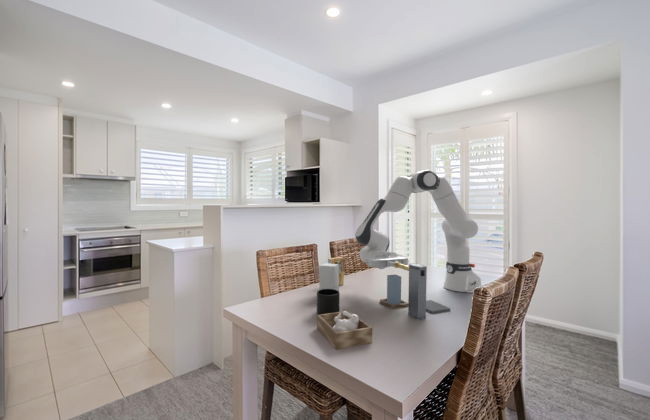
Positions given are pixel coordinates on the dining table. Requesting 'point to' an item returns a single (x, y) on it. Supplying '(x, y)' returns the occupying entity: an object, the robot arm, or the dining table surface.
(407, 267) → the bolt
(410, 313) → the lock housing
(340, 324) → the rabbit figurine
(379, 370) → the dining table surface
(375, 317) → the dining table surface
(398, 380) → the dining table surface
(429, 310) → the mat
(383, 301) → the socket frame
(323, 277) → the skincare box
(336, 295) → the mug
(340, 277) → the candy box
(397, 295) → the block
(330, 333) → the display box
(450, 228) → the robot arm
